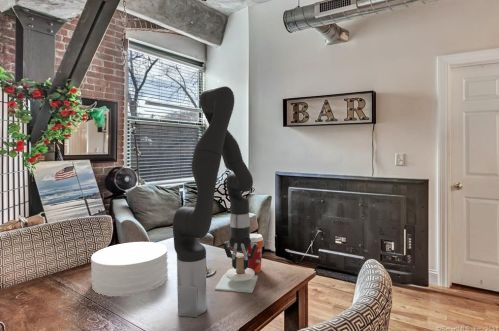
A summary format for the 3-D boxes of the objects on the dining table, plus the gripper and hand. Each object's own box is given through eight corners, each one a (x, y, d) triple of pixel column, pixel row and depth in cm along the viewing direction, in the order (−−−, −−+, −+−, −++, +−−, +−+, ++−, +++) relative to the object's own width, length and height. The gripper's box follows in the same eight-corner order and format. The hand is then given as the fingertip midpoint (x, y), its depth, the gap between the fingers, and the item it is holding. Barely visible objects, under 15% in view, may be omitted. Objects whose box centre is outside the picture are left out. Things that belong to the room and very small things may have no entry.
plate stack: (75, 287, 121) (74, 257, 120) (133, 263, 146) (133, 238, 145) (127, 303, 108) (126, 270, 107) (182, 274, 132) (181, 247, 132)
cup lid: (252, 281, 117) (251, 263, 117) (223, 279, 119) (222, 261, 119) (256, 270, 128) (256, 253, 128) (230, 268, 130) (229, 251, 130)
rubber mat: (252, 292, 115) (252, 291, 115) (214, 289, 117) (214, 288, 117) (258, 277, 129) (258, 275, 129) (224, 275, 131) (224, 273, 131)
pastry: (184, 270, 138) (184, 259, 137) (211, 266, 142) (211, 256, 142) (189, 281, 126) (189, 269, 126) (218, 276, 131) (218, 265, 130)
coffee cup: (263, 274, 132) (263, 238, 131) (243, 274, 132) (243, 238, 131) (263, 266, 140) (263, 232, 139) (244, 266, 140) (244, 232, 139)
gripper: (219, 226, 120) (220, 271, 121) (256, 227, 118) (257, 273, 119) (224, 221, 128) (225, 263, 129) (259, 222, 125) (259, 266, 126)
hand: (240, 268), depth 124 cm, fingers closed on cup lid, 3 cm apart
